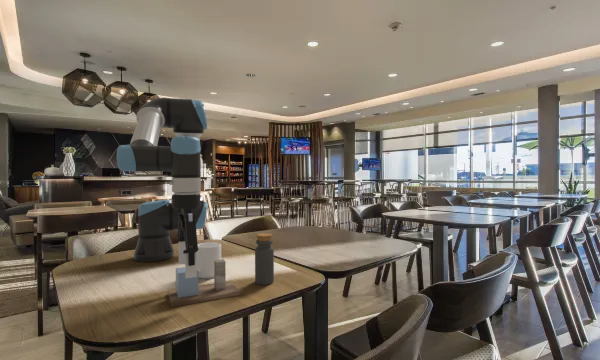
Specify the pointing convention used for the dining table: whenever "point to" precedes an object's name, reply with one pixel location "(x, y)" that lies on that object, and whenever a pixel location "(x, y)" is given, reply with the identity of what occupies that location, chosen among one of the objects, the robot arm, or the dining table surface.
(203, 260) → the mug
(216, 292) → the stand
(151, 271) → the dining table surface
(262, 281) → the bottle
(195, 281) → the light blue block
